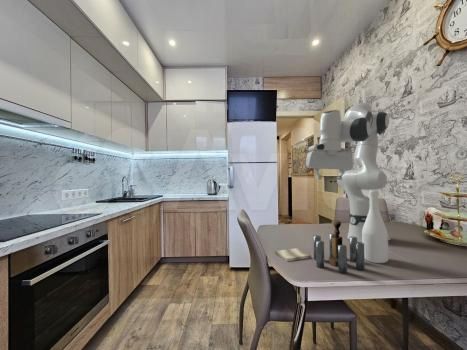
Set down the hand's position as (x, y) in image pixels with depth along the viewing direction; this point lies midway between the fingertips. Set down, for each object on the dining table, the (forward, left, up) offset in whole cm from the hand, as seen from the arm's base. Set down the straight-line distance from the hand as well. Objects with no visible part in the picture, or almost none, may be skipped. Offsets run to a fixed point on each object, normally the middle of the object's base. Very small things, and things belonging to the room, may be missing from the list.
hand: (329, 179), depth 102 cm
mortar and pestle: (0, +5, -35) cm, 35 cm away
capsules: (0, +5, -35) cm, 35 cm away
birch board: (+12, -10, -35) cm, 38 cm away
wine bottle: (-18, +7, -35) cm, 40 cm away
